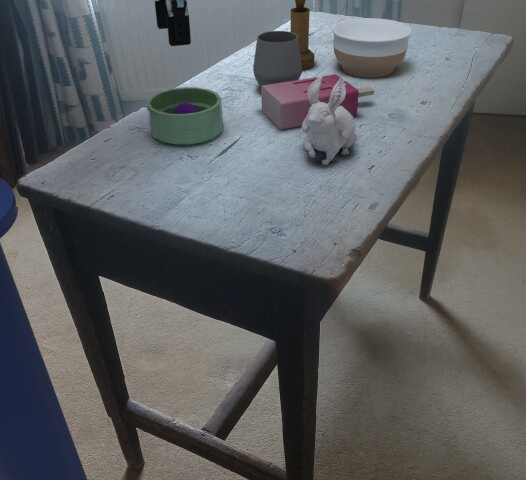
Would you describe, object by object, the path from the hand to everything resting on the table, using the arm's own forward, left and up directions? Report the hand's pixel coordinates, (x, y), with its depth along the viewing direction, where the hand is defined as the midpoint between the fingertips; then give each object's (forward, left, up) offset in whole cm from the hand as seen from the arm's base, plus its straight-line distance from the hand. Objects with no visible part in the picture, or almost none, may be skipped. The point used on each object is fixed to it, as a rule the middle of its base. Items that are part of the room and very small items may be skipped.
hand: (173, 36), depth 91 cm
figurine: (+21, -15, -16) cm, 30 cm away
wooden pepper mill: (+31, +25, -16) cm, 43 cm away
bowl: (+44, +18, -16) cm, 50 cm away
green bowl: (+1, 0, -16) cm, 16 cm away
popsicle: (+26, 0, -16) cm, 30 cm away
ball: (+1, 0, -13) cm, 13 cm away
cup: (+22, +13, -16) cm, 30 cm away
